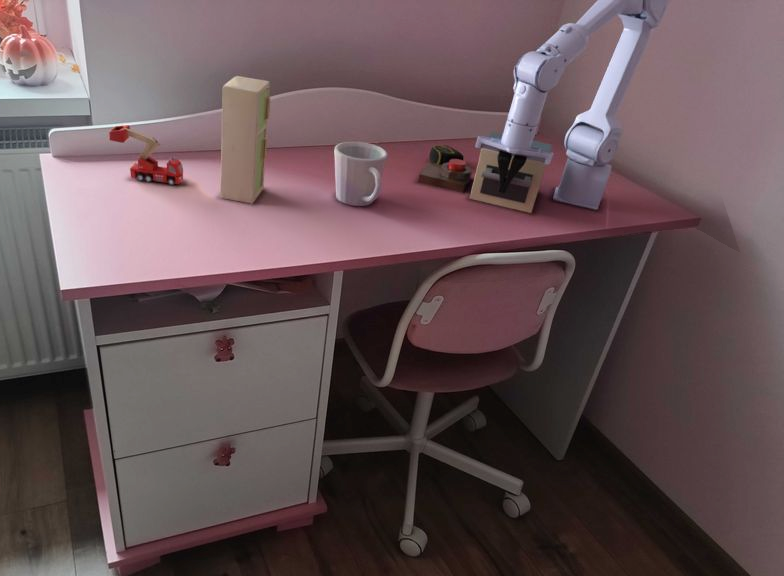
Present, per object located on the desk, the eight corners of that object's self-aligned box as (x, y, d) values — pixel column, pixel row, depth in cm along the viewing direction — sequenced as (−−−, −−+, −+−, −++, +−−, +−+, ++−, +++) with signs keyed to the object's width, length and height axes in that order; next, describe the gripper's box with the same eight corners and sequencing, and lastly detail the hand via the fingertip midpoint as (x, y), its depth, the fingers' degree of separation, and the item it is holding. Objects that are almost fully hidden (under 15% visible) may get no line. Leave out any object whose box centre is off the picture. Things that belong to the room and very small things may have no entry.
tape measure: (462, 168, 156) (466, 153, 154) (439, 171, 153) (442, 155, 151) (445, 158, 161) (448, 143, 159) (422, 160, 158) (425, 145, 156)
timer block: (471, 180, 151) (474, 164, 149) (463, 193, 144) (467, 177, 142) (427, 170, 153) (430, 155, 151) (417, 182, 146) (420, 167, 144)
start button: (465, 168, 147) (467, 161, 146) (462, 174, 145) (464, 166, 144) (449, 165, 148) (451, 157, 147) (446, 170, 145) (448, 162, 144)
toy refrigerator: (256, 205, 128) (262, 91, 116) (219, 198, 129) (221, 85, 117) (267, 190, 134) (273, 81, 122) (232, 183, 135) (235, 75, 123)
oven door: (529, 219, 135) (544, 167, 129) (466, 204, 138) (478, 153, 132) (531, 210, 139) (547, 160, 133) (470, 196, 142) (482, 146, 136)
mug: (367, 187, 141) (374, 140, 135) (398, 217, 130) (407, 167, 124) (321, 189, 137) (326, 141, 132) (349, 221, 126) (356, 170, 121)
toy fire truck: (180, 186, 131) (179, 138, 126) (112, 177, 132) (108, 128, 126) (185, 180, 134) (184, 132, 129) (118, 171, 134) (114, 123, 129)
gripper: (481, 117, 124) (462, 187, 131) (560, 135, 121) (536, 206, 128) (486, 110, 130) (468, 178, 137) (562, 127, 127) (539, 195, 134)
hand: (501, 191), depth 133 cm, fingers closed, pressing on oven door
